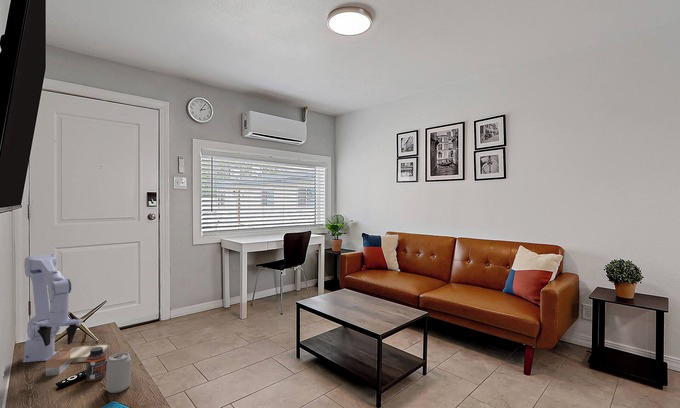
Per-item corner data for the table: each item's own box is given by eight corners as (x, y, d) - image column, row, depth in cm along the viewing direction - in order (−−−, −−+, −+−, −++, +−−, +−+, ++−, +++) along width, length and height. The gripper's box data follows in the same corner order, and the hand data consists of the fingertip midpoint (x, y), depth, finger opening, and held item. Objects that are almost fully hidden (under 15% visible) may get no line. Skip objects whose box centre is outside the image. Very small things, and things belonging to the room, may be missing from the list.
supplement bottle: (95, 383, 127) (95, 352, 127) (82, 381, 128) (82, 351, 128) (109, 375, 132) (109, 346, 132) (96, 373, 134) (96, 344, 134)
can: (126, 380, 129) (126, 349, 128) (133, 388, 124) (134, 355, 124) (103, 389, 123) (103, 356, 123) (110, 396, 118) (110, 362, 118)
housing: (45, 376, 131) (46, 360, 131) (57, 366, 139) (57, 351, 139) (59, 374, 132) (59, 359, 132) (70, 365, 140) (70, 350, 140)
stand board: (57, 363, 141) (57, 359, 141) (74, 349, 154) (74, 346, 154) (96, 360, 144) (96, 356, 144) (109, 346, 158) (109, 343, 158)
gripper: (31, 314, 130) (30, 350, 130) (75, 312, 133) (74, 346, 133) (42, 309, 137) (41, 342, 137) (83, 307, 140) (83, 339, 140)
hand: (58, 344), depth 135 cm, fingers open, 7 cm apart
